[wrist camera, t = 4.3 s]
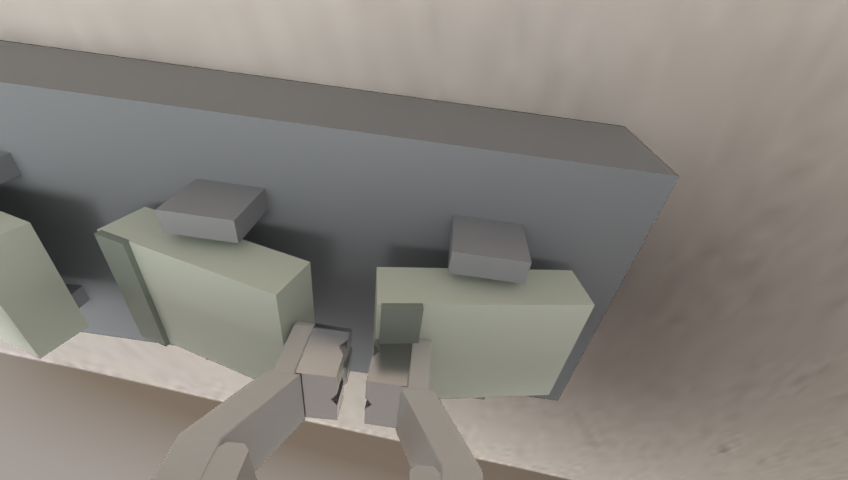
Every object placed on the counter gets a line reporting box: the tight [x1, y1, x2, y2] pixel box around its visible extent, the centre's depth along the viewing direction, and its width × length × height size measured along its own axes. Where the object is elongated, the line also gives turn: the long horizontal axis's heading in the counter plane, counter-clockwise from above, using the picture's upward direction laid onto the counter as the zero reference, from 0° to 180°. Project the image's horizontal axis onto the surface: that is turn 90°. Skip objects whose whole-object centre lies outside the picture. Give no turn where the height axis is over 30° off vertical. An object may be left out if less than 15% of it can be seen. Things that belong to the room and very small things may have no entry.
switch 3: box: [372, 267, 595, 399], centre depth 11 cm, size 6×4×2 cm
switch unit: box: [0, 40, 679, 401], centre depth 14 cm, size 24×10×6 cm, turn 84°
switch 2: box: [94, 207, 315, 379], centre depth 11 cm, size 6×4×2 cm
